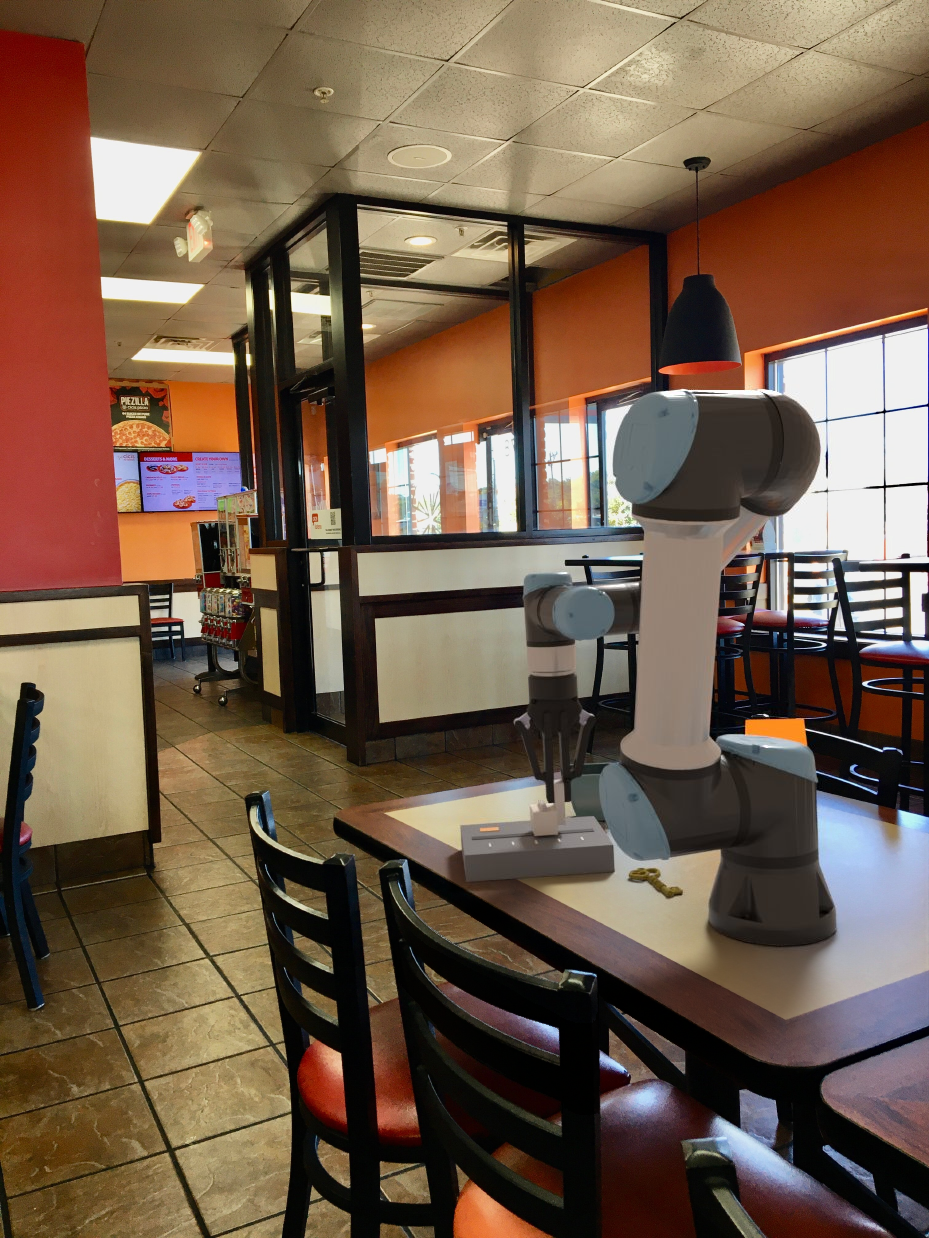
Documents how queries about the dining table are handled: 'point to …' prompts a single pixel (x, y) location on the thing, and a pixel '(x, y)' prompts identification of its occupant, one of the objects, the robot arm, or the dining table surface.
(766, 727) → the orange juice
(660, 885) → the key
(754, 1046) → the dining table surface
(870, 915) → the dining table surface
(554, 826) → the slider cap
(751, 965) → the dining table surface
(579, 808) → the flower pot
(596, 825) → the dimmer console
